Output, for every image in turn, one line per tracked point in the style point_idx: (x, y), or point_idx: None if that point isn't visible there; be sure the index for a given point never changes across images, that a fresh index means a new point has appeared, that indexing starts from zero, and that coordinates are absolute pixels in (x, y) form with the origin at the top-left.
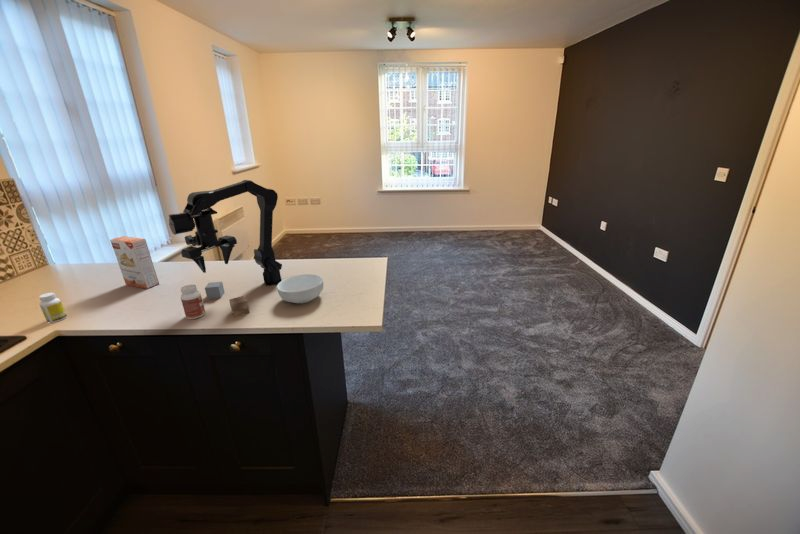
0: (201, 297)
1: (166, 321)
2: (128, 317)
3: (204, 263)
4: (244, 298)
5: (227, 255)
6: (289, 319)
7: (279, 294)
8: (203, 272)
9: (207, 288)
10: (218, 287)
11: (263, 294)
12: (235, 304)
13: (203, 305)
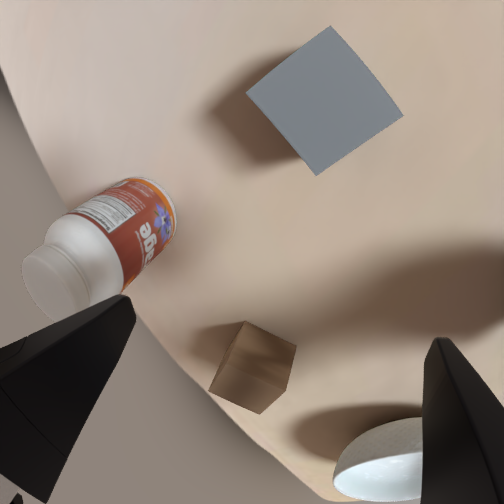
0: (130, 281)
1: (69, 153)
2: (28, 9)
3: (79, 428)
4: (267, 402)
5: (421, 498)
6: (292, 447)
7: (348, 452)
8: (120, 299)
9: (261, 107)
10: (316, 173)
11: (426, 329)
12: (220, 394)
13: (153, 257)
